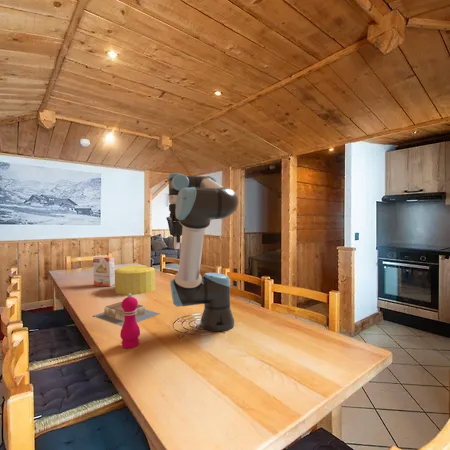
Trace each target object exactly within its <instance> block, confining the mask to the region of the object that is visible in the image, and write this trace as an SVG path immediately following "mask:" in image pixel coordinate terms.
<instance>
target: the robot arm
mask: <svg viewBox="0 0 450 450" xmlns="http://www.w3.org/2000/svg"><path fill="white" fill-rule="evenodd" d="M167 182H168V204H169V205H168V211H169V216H168V217H167V216H166V221H167V226H168V230H169V235H170V236H172V240H173V241H172V242H173V249H174V250H180V254H179V264H178V265H179V266H178V272H176V273H175V275H174V278H173V279H170V281H169V284H170V294H171V299H172V304H173V306H174V307H177V308H178V307H189V306H196V305H203V304H204V305H203V306H204V309H203V312H202V315H201V319H200V327H201V328H202V329H203V330H206V331H210V332H224V331H227V330H231V329H232V328H233V327H234V326H235V318H234V316H233V312H232V310H231V282H230V281H231V280H230V277H229V276H228V275H227V274H223V273H219V272H206V273H204V275H203V276H202V275H201V273H200V271H201V270H200V269H201V263H202V256H203V255H202V254H203V246H204V239H205V231H206V229H207V228H208V227H209V226H210V225H211V220H223V219H226V218H229V217H230V216H231V215H233V214H234V213H235V212H236V210H237V209H238V206H239V198H238V195H237V193H236V192H235V191H234V190H233V189H231V188H230V187H227V186H226V187H225V186H222V185H220V184H219V183H218V181H217V177H215V176H211V175H206V176H205V175H185V174H182V173H175V172H174V173H170V174H169V175H168V180H167ZM180 244H181V245H180Z"/></svg>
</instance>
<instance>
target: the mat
mask: <svg viewBox="0 0 450 450" xmlns="http://www.w3.org/2000/svg"><path fill="white" fill-rule="evenodd" d="M159 315H161V313H160V312H155V311H152V310H149V309H145V314H144V315H141V316H138V317H136V322H137V323H139V322H142V321H145V320H148V319H150V318H153V317H155V316H159ZM92 317H93V318H98V319H100V320H103V321H106V322H109V323H112V324H115V325H118V326H120V327H122V326H123V324H124V321H121V320H118V319H115V318H112V317H109V316H106V315H104V312H101V313H98V314H93V315H92Z"/></svg>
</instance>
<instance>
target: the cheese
mask: <svg viewBox="0 0 450 450" xmlns="http://www.w3.org/2000/svg"><path fill="white" fill-rule="evenodd" d="M155 289H156V269H155V268H154V267H151V266H150V267H149V266H148V265H145V264H140V265H139V264H137V265H126V266H122V267H121V266H120V267H118V268H117V269H115V285H114V291H115V293H116V294H117V295H121V296H122V295H125V296H127V295H128V294H129V293H131V294H132V296H133V295H134V296H135V295H142V294H147V293H151V292H153V291H155Z"/></svg>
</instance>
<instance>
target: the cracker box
mask: <svg viewBox="0 0 450 450" xmlns="http://www.w3.org/2000/svg"><path fill="white" fill-rule="evenodd" d="M92 265H93V286H97V287H98V286H99V287H108V288H109V287H113V286H115V270H116V269H115V256H104V255H103V256H102V255H101V256H99V255H97V256H93V263H92Z"/></svg>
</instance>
